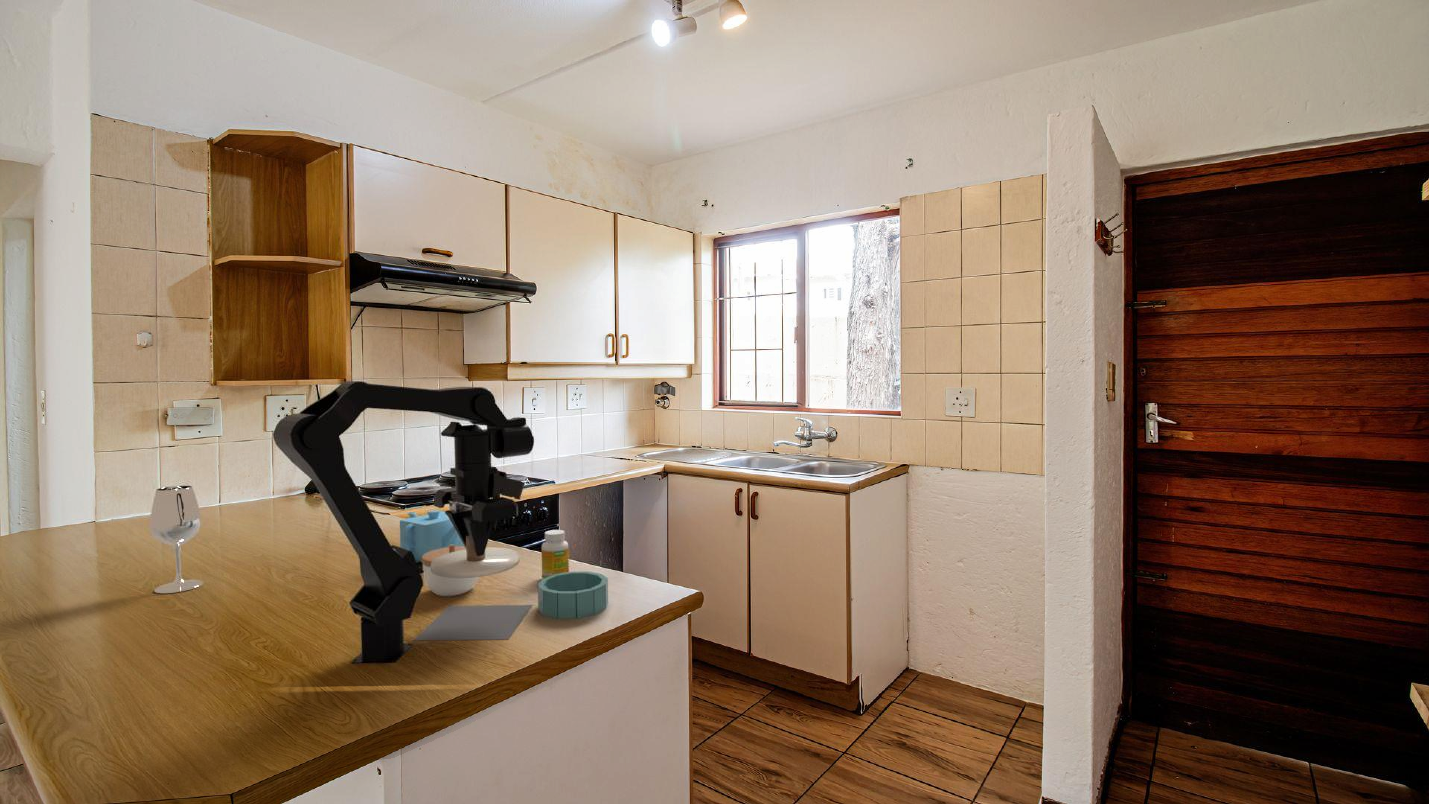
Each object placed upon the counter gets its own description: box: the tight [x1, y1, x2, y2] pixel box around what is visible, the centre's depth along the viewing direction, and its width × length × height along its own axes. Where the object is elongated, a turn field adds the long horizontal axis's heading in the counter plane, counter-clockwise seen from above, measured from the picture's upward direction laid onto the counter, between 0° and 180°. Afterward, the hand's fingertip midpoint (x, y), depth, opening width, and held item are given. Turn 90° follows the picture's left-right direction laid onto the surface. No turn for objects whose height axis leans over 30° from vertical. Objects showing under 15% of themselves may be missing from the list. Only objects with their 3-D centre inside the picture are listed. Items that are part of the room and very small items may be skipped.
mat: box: [412, 604, 533, 642], centre depth 111 cm, size 15×15×1 cm
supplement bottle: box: [541, 529, 570, 580], centre depth 135 cm, size 5×5×10 cm
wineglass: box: [149, 485, 204, 595], centre depth 130 cm, size 8×8×20 cm
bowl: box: [537, 571, 609, 620], centre depth 118 cm, size 12×12×5 cm
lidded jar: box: [421, 544, 480, 597], centre depth 127 cm, size 11×11×9 cm
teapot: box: [399, 509, 464, 564], centre depth 149 cm, size 16×18×11 cm
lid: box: [431, 535, 520, 578], centre depth 111 cm, size 14×14×5 cm
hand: (475, 553), depth 111 cm, fingers closed on lid, 3 cm apart
